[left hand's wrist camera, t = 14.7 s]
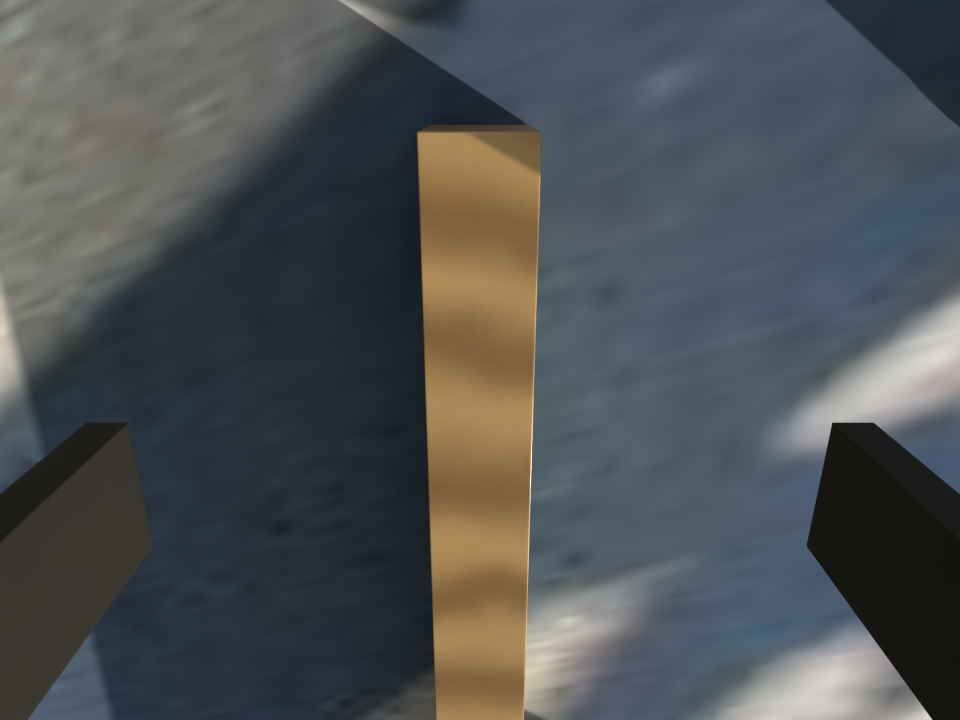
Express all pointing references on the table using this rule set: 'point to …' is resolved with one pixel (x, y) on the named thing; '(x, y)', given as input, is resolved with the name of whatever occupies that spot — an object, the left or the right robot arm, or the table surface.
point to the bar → (479, 405)
